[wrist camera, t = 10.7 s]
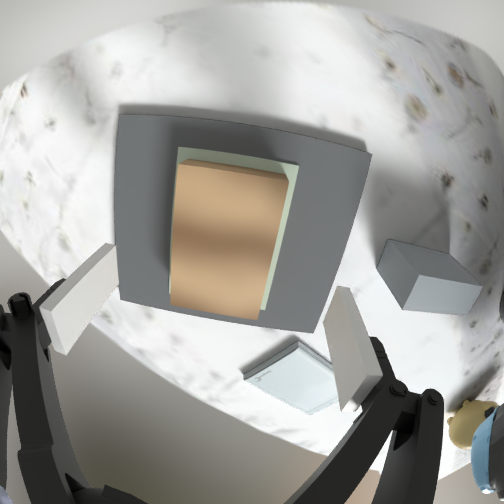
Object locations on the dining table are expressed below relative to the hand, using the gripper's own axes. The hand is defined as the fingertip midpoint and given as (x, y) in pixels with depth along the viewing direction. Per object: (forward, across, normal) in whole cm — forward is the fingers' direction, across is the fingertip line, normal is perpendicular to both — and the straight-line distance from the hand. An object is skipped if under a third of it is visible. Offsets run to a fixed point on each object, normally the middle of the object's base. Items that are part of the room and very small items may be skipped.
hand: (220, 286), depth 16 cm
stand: (+8, -17, -1) cm, 19 cm away
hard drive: (+9, -11, +17) cm, 22 cm away
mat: (+7, +1, 0) cm, 7 cm away
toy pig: (+9, -51, +27) cm, 58 cm away
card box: (+6, +1, 0) cm, 6 cm away
